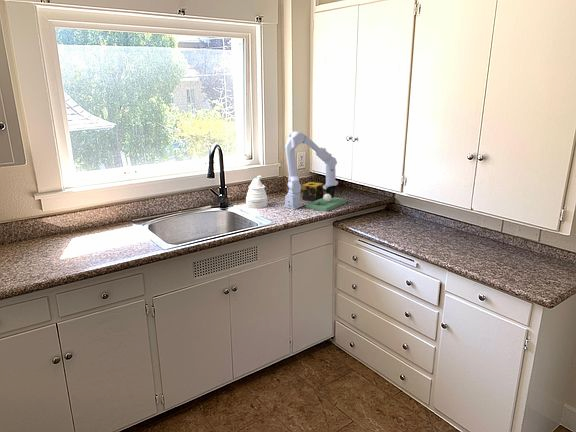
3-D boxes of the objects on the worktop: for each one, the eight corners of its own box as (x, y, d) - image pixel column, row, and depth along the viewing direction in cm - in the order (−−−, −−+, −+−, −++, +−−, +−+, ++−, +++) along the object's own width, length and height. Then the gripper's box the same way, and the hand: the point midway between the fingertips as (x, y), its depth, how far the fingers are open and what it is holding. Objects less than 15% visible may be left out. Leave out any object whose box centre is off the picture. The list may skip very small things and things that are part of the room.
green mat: (326, 211, 245) (326, 208, 245) (306, 207, 253) (306, 204, 253) (346, 202, 264) (346, 199, 263) (327, 198, 272) (327, 195, 271)
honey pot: (269, 202, 264) (268, 174, 259) (265, 208, 252) (265, 178, 247) (248, 202, 266) (247, 173, 260) (244, 208, 253) (243, 178, 248)
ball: (329, 204, 256) (328, 197, 253) (322, 202, 259) (321, 195, 256) (333, 199, 259) (332, 192, 256) (326, 198, 262) (325, 191, 259)
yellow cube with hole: (323, 198, 273) (324, 183, 270) (316, 202, 265) (316, 186, 262) (309, 196, 278) (309, 181, 275) (301, 200, 270) (301, 184, 267)
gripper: (330, 179, 248) (330, 201, 252) (342, 174, 259) (342, 196, 263) (319, 178, 252) (320, 200, 256) (332, 173, 263) (332, 194, 267)
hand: (330, 198), depth 260 cm, fingers closed
